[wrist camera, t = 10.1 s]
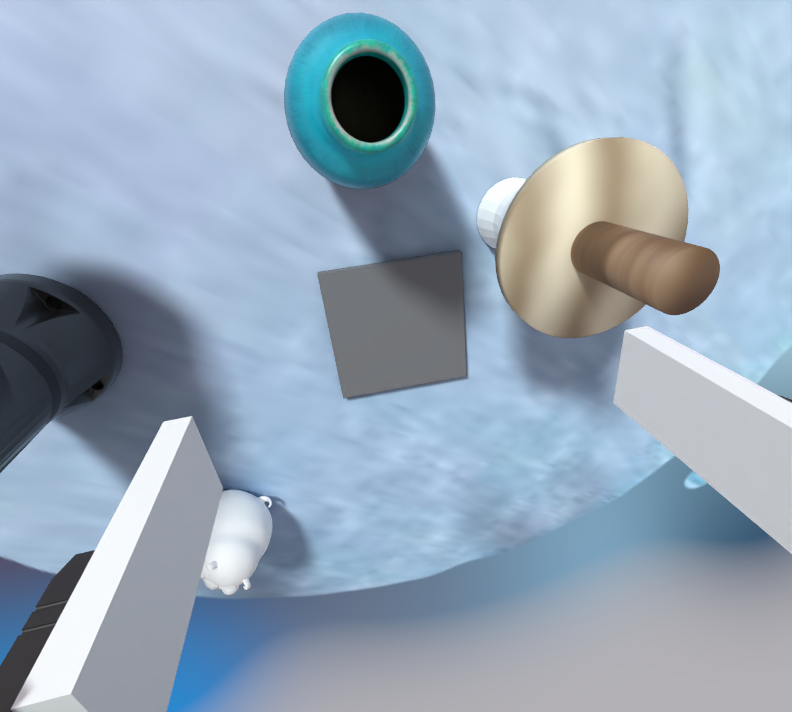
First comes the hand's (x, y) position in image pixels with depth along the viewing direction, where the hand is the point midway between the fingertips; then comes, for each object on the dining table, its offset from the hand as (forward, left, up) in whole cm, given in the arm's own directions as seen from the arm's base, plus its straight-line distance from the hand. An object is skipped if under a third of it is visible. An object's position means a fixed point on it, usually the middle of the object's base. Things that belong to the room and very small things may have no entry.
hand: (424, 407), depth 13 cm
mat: (+3, -13, -35) cm, 37 cm away
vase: (+1, +9, -35) cm, 37 cm away
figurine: (-22, -36, -35) cm, 55 cm away
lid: (+17, -2, -20) cm, 27 cm away
